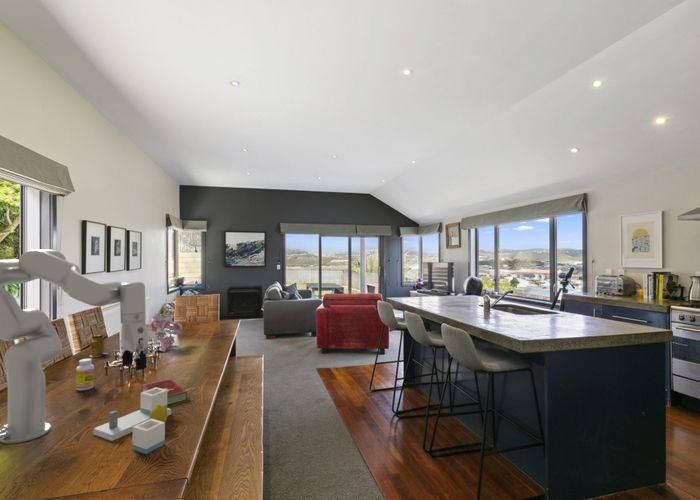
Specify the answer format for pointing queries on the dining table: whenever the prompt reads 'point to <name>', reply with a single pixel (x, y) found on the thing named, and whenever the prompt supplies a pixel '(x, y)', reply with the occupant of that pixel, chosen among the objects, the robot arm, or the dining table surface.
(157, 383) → the hardcover book
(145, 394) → the seated sleeve
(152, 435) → the sleeve
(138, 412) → the pin board
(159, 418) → the lemon
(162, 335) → the flower
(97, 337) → the condiment
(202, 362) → the dining table surface
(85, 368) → the supplement bottle
